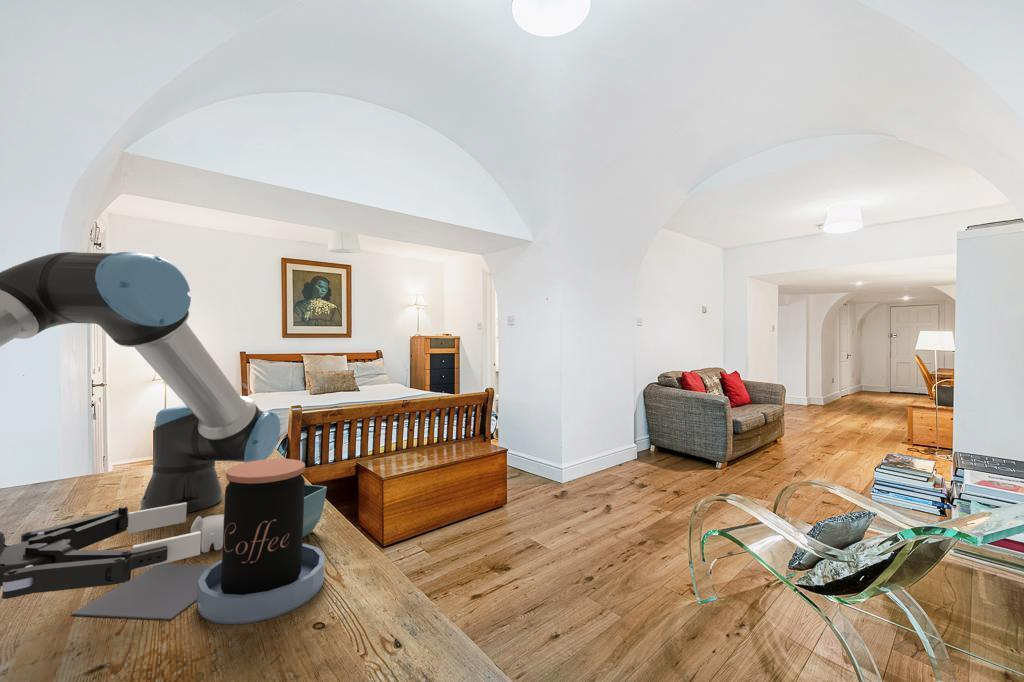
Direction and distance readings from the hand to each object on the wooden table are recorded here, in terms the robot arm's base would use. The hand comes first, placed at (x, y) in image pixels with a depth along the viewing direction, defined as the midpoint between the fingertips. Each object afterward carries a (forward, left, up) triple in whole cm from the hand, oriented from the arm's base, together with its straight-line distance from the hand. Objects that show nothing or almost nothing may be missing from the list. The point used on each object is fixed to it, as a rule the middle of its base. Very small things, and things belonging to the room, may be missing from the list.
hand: (192, 526), depth 60 cm
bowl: (-7, +7, -12) cm, 15 cm away
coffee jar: (-6, +6, -11) cm, 15 cm away
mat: (-6, -8, -12) cm, 16 cm away
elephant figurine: (-20, -11, -12) cm, 26 cm away
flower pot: (-25, +1, -12) cm, 28 cm away
